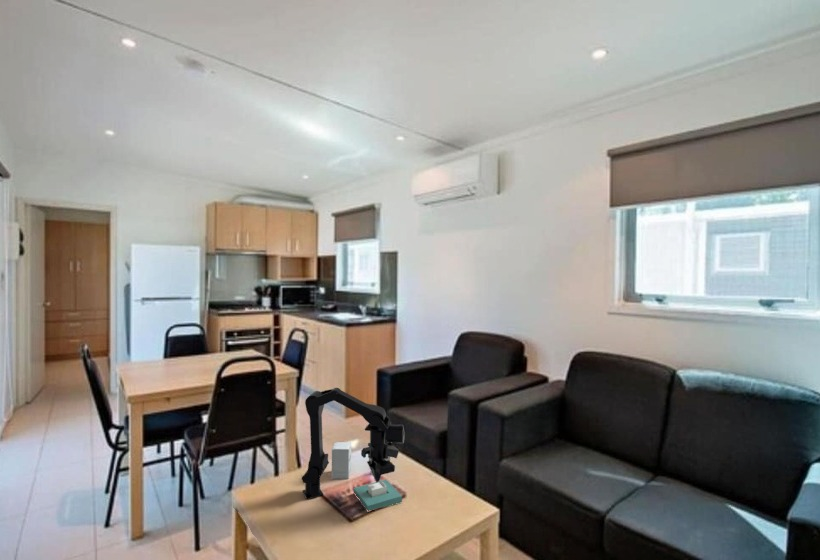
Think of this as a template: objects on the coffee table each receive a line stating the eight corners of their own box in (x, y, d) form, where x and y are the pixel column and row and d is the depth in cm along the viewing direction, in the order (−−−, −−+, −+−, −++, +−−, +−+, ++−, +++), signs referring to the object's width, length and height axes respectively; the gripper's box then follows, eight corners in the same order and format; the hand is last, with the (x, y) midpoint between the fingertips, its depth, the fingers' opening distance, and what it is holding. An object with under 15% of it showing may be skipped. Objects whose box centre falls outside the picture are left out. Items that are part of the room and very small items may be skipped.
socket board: (353, 494, 164) (353, 487, 163) (386, 485, 170) (386, 479, 170) (367, 512, 151) (367, 505, 151) (402, 502, 158) (402, 495, 158)
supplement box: (348, 479, 175) (348, 449, 175) (331, 478, 175) (331, 449, 175) (351, 470, 183) (351, 442, 182) (334, 470, 183) (334, 441, 182)
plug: (368, 498, 161) (368, 484, 161) (382, 494, 164) (382, 481, 164) (372, 503, 158) (372, 489, 157) (386, 499, 160) (386, 485, 160)
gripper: (407, 446, 156) (407, 487, 156) (386, 429, 172) (385, 466, 173) (380, 452, 150) (380, 495, 151) (360, 434, 167) (360, 472, 167)
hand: (377, 481), depth 161 cm, fingers closed
